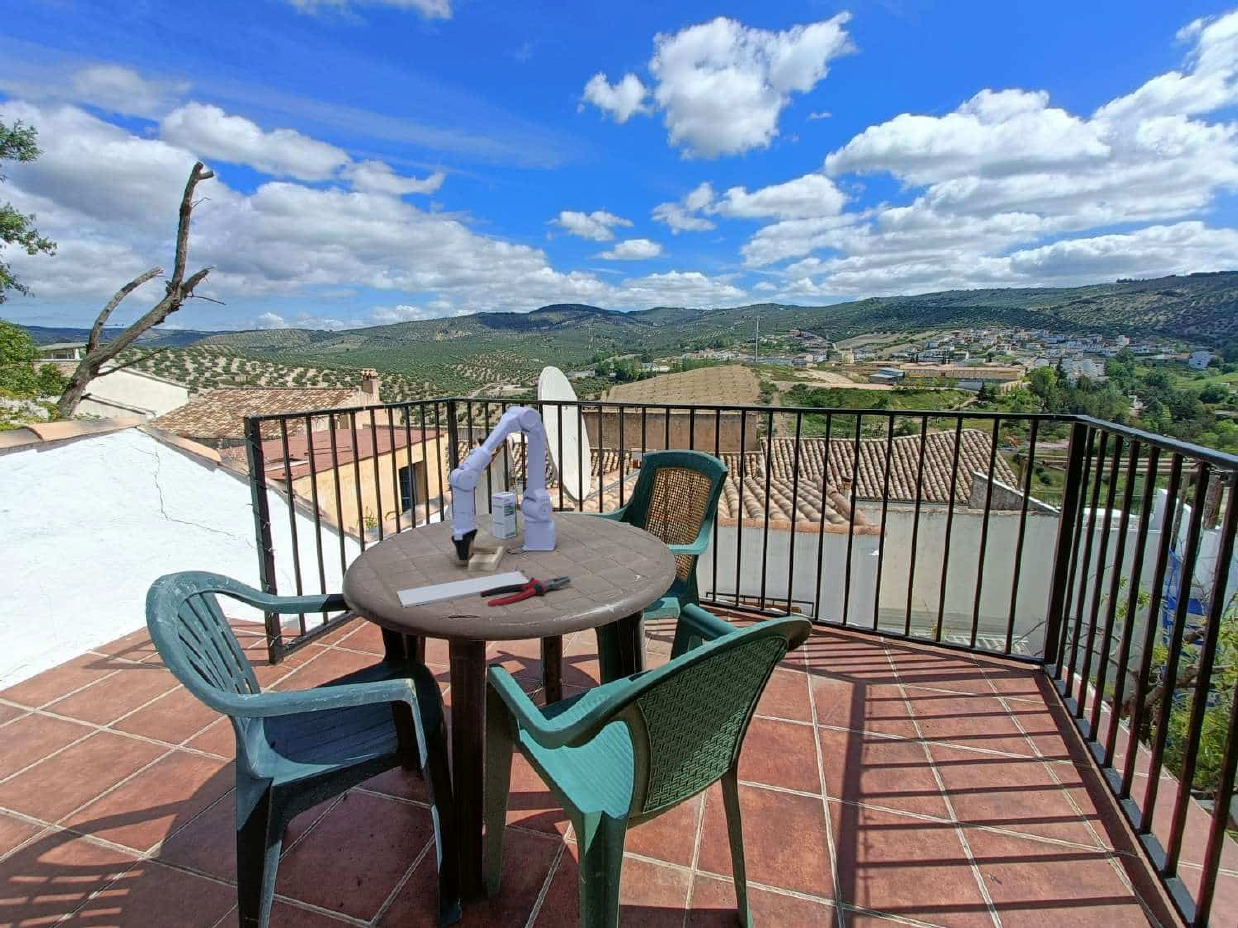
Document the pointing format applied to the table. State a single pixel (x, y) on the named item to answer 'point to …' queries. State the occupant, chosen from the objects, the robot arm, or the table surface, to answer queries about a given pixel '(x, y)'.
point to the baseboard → (458, 589)
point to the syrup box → (504, 515)
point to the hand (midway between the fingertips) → (465, 557)
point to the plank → (486, 560)
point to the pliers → (530, 589)
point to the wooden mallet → (473, 550)
